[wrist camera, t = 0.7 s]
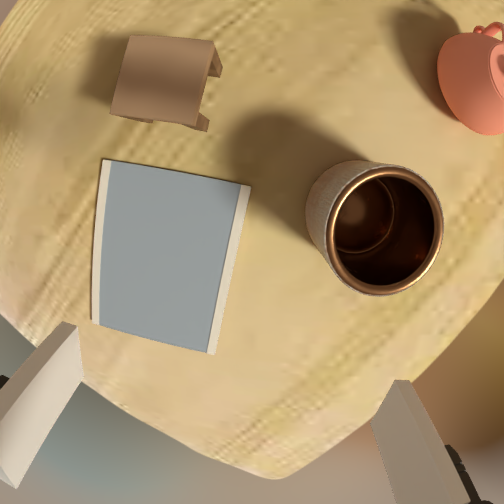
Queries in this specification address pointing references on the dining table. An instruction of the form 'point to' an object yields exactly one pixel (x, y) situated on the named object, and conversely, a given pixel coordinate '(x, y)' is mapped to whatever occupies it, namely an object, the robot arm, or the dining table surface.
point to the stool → (165, 80)
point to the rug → (165, 253)
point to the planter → (375, 225)
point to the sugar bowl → (474, 78)
